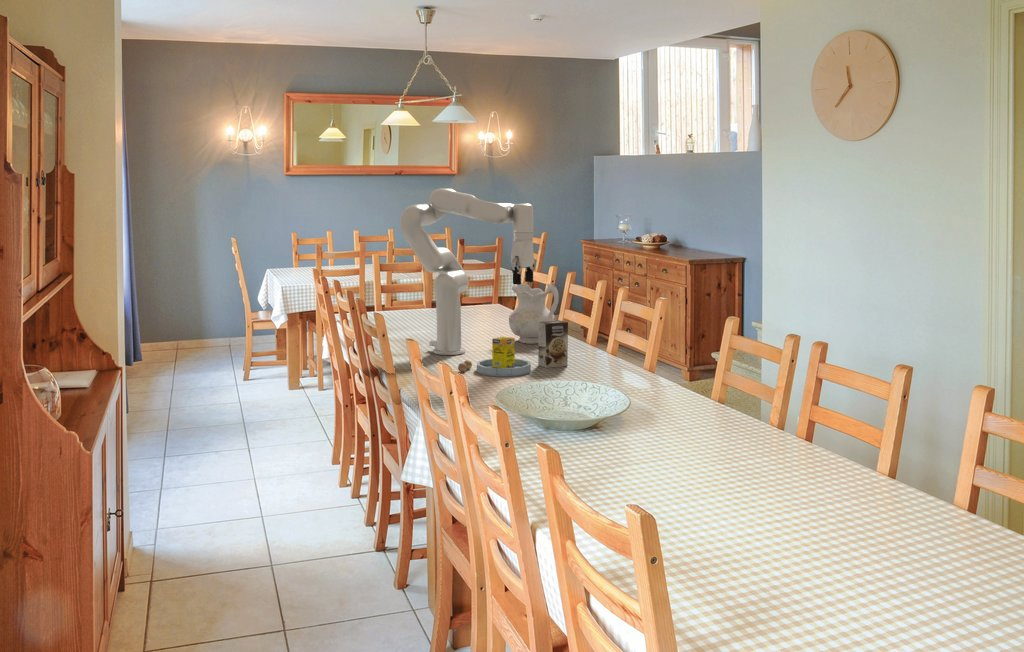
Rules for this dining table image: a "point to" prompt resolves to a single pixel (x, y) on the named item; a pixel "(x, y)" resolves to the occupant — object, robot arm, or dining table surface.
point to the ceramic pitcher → (531, 311)
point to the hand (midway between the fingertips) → (523, 283)
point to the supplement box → (503, 352)
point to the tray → (486, 368)
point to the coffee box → (553, 344)
